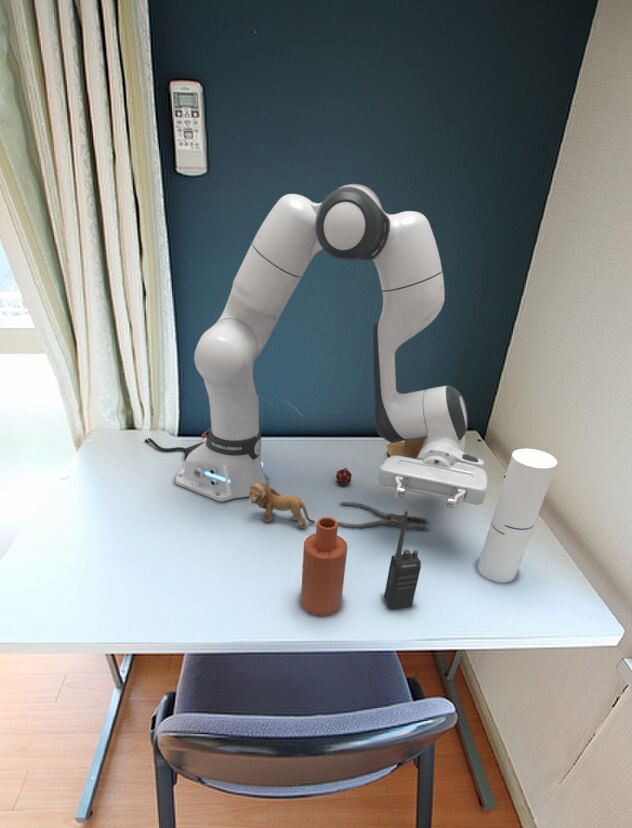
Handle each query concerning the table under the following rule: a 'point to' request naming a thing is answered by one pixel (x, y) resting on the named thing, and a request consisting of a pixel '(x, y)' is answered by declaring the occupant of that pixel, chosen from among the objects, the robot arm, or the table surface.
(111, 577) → the table surface
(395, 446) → the stone cup
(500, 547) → the cylindrical container
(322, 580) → the bottle
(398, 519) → the pliers
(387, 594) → the walkie-talkie
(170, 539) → the table surface
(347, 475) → the dice
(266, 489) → the lion figurine
